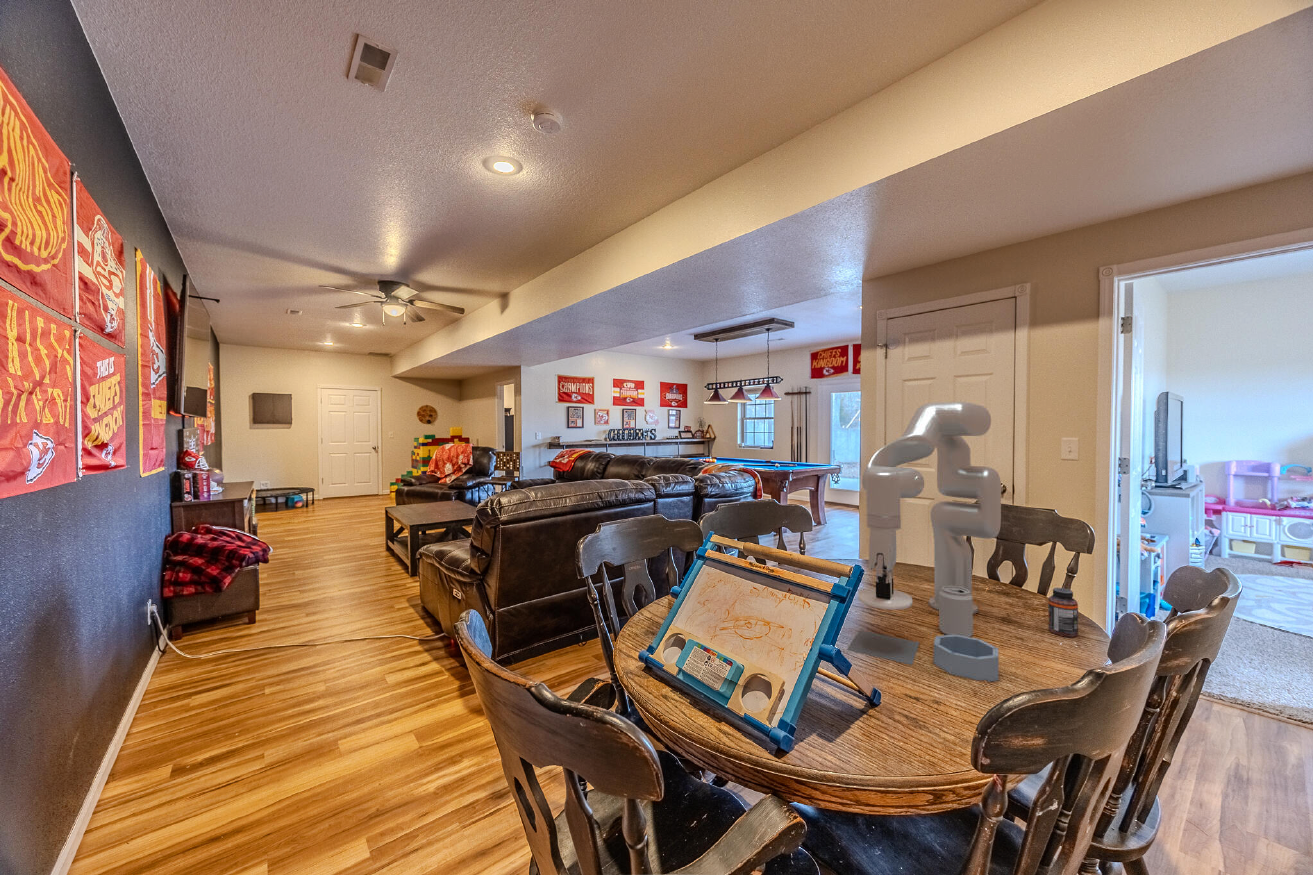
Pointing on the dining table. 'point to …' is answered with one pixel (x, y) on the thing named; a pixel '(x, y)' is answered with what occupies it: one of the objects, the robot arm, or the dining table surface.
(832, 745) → the dining table surface
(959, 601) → the can
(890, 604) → the lid
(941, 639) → the bowl
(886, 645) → the plate
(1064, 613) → the supplement bottle
